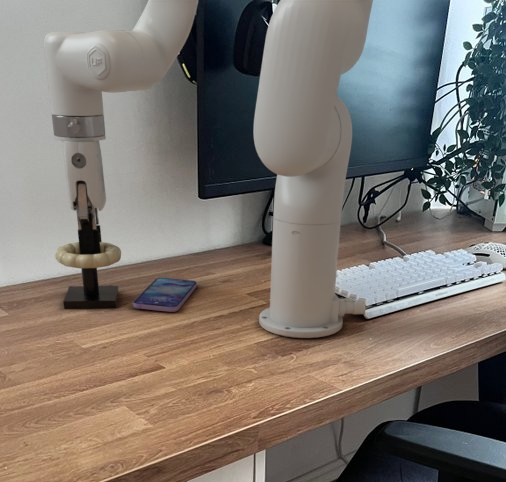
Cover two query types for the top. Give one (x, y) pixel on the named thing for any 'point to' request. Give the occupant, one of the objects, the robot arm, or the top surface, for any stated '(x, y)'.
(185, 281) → the smartphone
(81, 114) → the robot arm
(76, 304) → the peg stand
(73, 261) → the segmented ring
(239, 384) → the top surface
